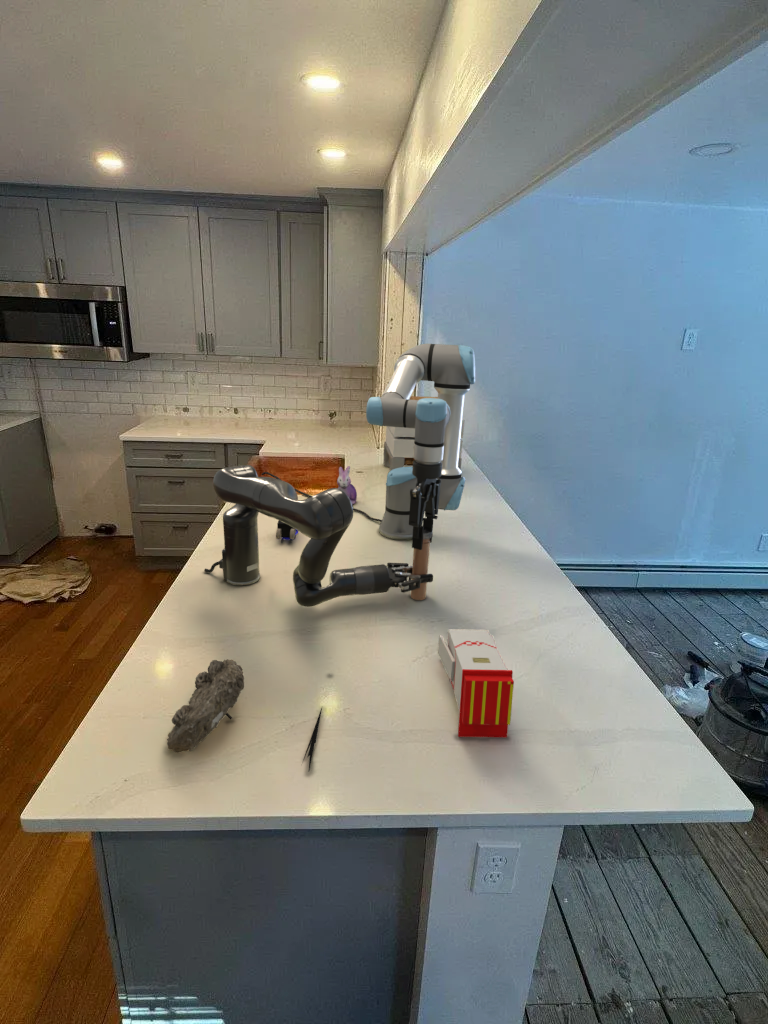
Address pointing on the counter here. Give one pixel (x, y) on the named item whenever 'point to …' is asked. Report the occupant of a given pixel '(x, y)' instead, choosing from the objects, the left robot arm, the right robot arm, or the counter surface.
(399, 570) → the left robot arm
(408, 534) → the right robot arm
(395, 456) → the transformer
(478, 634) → the toy
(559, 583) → the counter surface
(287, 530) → the black wheeled rover
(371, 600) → the counter surface
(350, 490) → the figurine
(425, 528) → the lid
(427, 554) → the jar
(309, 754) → the feather
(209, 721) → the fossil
